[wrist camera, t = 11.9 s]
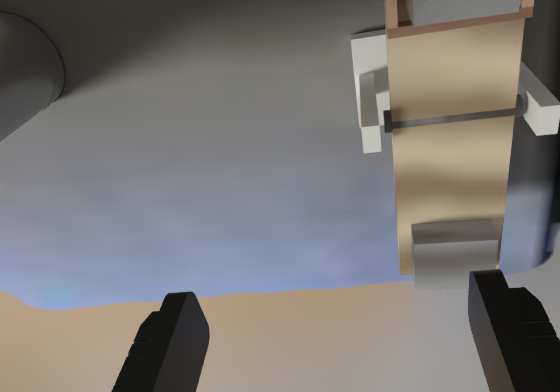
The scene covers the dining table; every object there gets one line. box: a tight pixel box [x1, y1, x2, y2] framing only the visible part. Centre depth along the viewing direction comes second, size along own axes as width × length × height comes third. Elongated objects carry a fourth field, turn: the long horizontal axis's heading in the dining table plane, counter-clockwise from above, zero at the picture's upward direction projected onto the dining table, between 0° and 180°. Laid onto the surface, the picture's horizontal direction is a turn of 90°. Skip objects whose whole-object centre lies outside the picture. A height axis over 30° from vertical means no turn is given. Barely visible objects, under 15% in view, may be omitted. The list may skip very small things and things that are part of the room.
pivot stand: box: [351, 29, 560, 153], centre depth 34 cm, size 8×13×12 cm, turn 101°
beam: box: [383, 0, 534, 290], centre depth 31 cm, size 29×9×4 cm, turn 11°
